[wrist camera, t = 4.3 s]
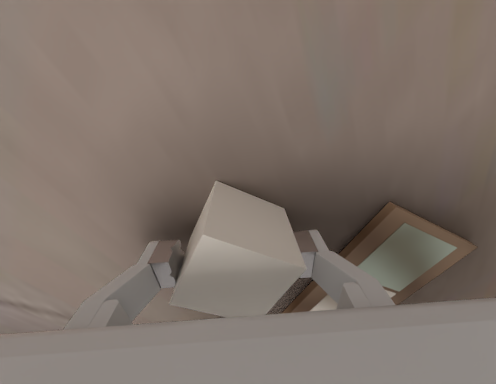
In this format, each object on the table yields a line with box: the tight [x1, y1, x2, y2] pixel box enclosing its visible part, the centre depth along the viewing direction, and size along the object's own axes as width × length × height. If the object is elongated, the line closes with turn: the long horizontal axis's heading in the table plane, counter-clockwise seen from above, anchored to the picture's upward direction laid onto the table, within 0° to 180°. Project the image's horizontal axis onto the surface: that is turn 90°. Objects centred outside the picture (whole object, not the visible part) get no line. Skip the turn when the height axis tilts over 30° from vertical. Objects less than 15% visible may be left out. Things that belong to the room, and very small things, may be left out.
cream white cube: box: [169, 181, 307, 318], centre depth 10 cm, size 4×4×4 cm
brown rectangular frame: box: [282, 202, 477, 313], centre depth 17 cm, size 23×8×1 cm, turn 154°
